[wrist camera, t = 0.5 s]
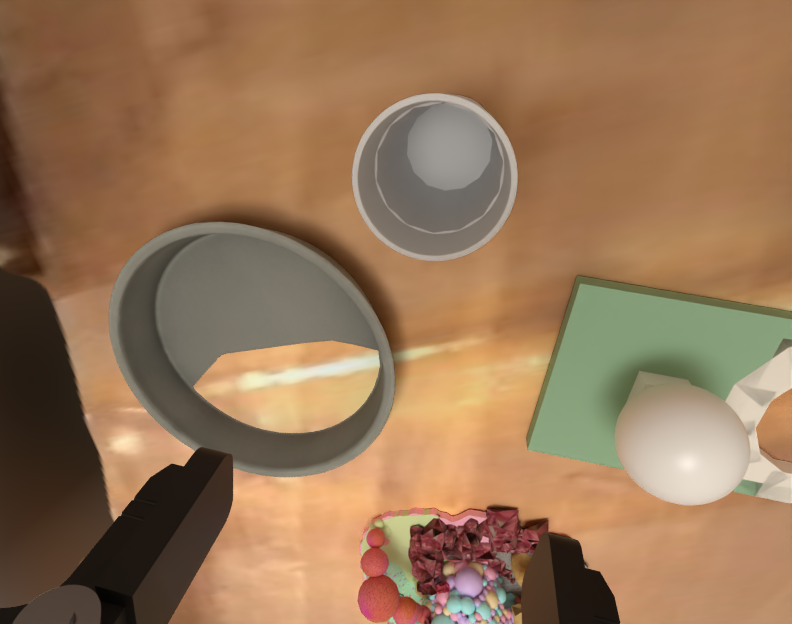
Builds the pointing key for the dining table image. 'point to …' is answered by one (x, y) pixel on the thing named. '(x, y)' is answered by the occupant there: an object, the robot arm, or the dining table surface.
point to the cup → (435, 176)
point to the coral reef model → (445, 567)
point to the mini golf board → (661, 369)
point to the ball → (682, 444)
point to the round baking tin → (241, 336)
